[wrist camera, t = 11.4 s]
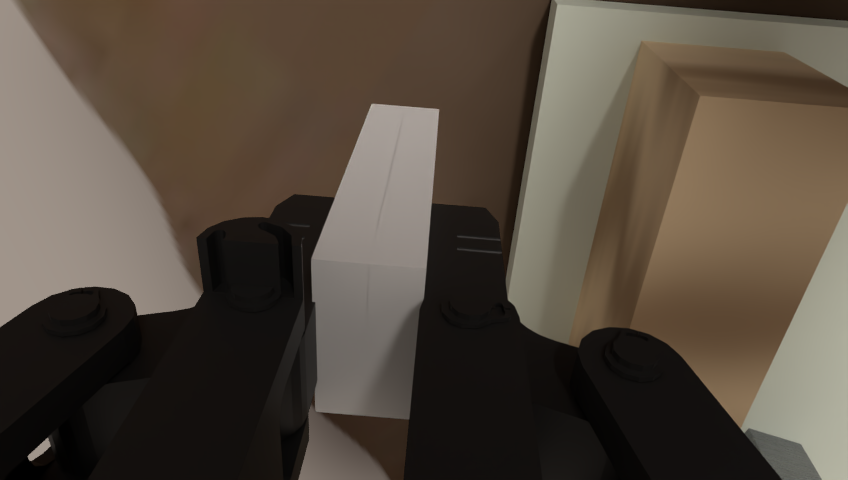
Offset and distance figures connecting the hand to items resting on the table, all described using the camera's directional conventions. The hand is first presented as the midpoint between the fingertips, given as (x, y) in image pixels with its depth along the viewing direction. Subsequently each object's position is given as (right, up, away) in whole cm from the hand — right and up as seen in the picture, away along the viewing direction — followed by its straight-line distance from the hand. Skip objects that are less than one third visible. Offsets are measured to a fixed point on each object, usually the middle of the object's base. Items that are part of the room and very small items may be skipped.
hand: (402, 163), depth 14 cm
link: (+8, -4, +8) cm, 12 cm away
